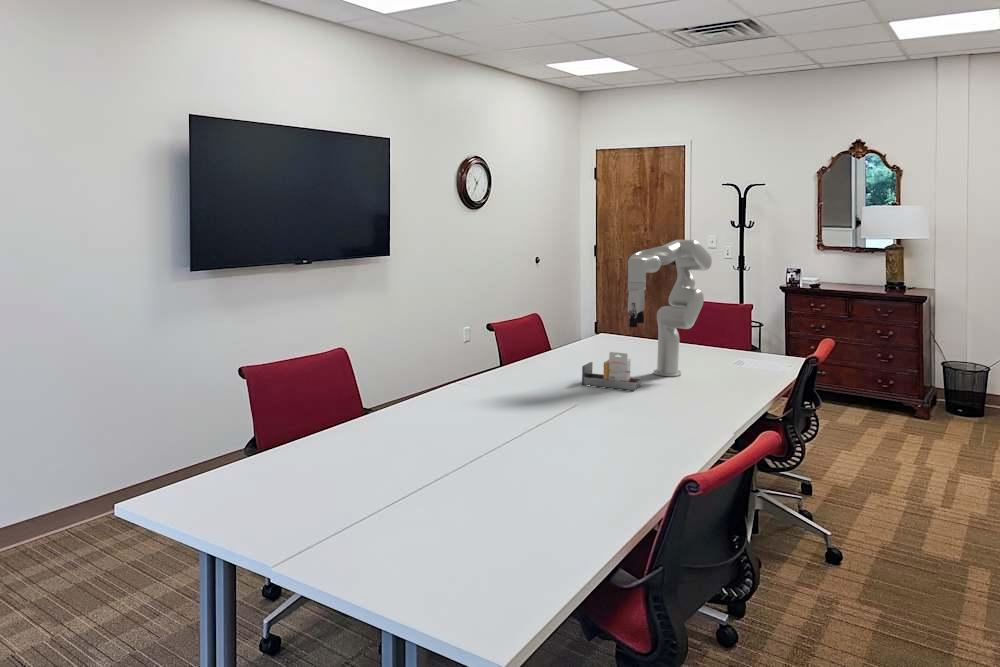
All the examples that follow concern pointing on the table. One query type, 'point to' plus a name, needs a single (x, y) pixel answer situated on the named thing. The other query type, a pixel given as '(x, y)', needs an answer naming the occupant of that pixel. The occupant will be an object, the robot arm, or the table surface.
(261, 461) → the table surface
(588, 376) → the lane
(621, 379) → the ink cartridge box
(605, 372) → the block
